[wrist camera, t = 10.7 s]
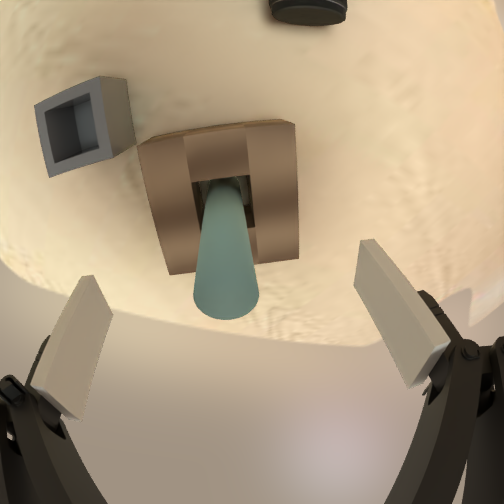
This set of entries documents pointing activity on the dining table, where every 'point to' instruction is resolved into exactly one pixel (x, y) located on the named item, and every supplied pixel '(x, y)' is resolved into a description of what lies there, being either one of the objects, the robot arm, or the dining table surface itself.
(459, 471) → the robot arm
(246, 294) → the dowel
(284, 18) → the camera
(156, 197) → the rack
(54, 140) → the pen cup
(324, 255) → the dining table surface
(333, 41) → the dining table surface
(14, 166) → the dining table surface
